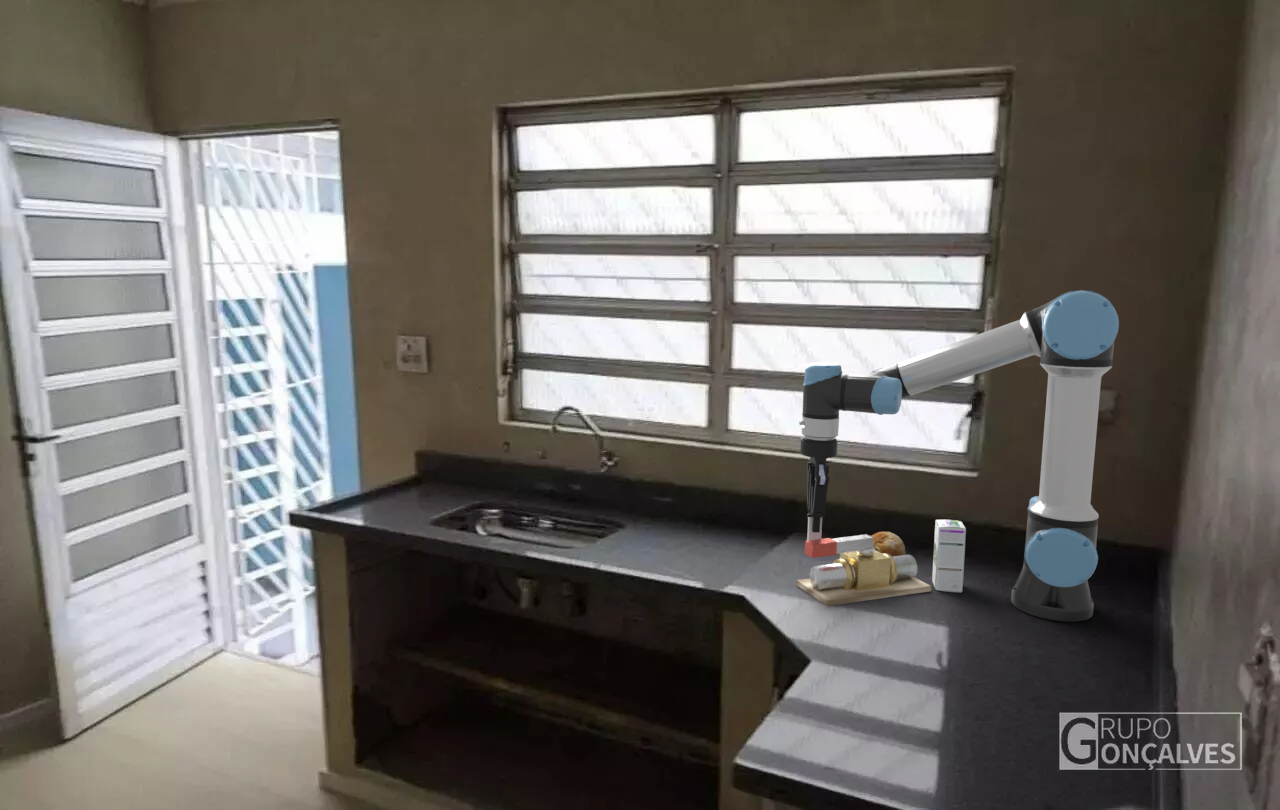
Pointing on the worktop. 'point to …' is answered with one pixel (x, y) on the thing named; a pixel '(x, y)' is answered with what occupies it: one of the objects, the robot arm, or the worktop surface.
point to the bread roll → (888, 544)
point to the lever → (840, 546)
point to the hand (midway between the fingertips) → (813, 545)
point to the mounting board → (864, 591)
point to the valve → (863, 571)
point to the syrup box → (949, 555)
